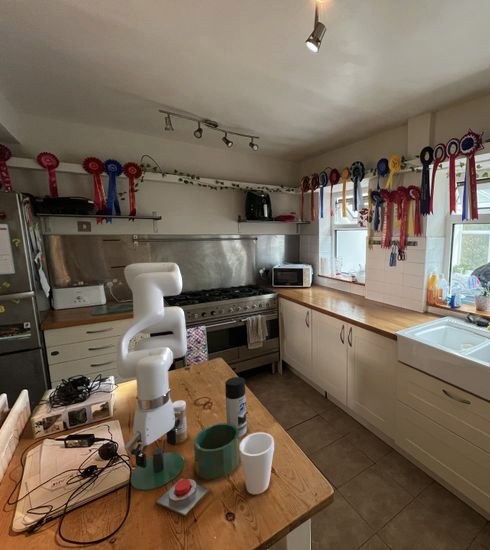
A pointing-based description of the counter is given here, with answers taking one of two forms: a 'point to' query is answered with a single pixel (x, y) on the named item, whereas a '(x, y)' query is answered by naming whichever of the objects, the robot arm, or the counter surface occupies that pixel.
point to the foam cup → (257, 461)
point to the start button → (182, 487)
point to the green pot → (216, 450)
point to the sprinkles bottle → (181, 432)
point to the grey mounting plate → (183, 498)
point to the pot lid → (157, 470)
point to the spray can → (236, 403)
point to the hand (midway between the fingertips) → (157, 454)
